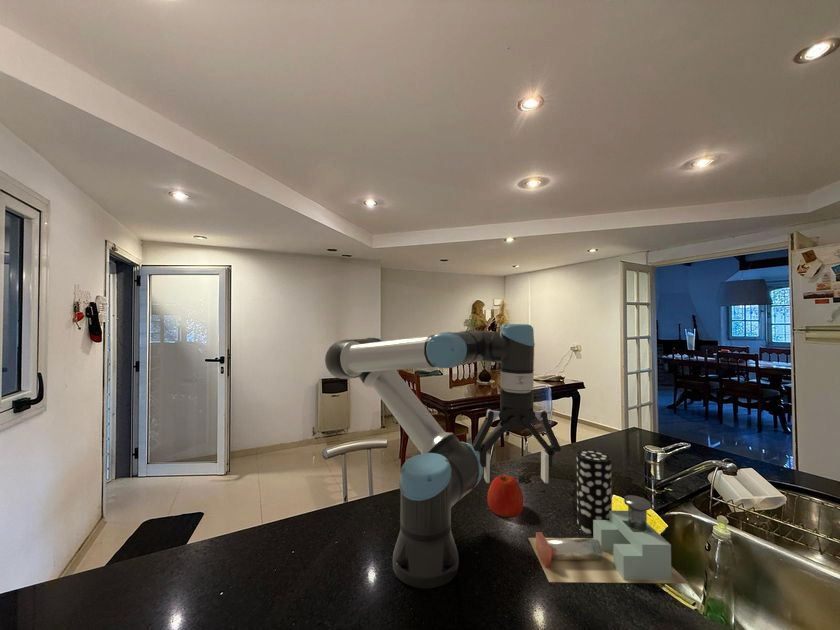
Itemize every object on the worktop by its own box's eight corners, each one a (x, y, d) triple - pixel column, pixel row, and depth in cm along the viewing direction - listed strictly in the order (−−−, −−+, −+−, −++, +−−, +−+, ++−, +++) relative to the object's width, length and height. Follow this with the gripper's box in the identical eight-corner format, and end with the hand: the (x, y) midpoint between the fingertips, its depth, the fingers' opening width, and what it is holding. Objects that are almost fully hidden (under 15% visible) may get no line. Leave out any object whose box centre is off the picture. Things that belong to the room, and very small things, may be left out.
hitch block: (623, 579, 74) (623, 544, 75) (593, 540, 88) (593, 510, 88) (671, 580, 74) (670, 544, 74) (633, 540, 88) (633, 510, 88)
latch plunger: (632, 532, 79) (632, 506, 79) (619, 519, 84) (619, 495, 84) (656, 533, 78) (655, 506, 79) (641, 519, 84) (641, 495, 84)
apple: (508, 500, 109) (508, 466, 109) (531, 517, 100) (531, 480, 100) (480, 507, 105) (480, 472, 105) (501, 526, 96) (501, 487, 96)
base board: (549, 586, 74) (549, 581, 74) (528, 541, 89) (528, 537, 89) (688, 587, 73) (688, 583, 73) (643, 542, 88) (643, 538, 88)
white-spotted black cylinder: (616, 542, 88) (616, 462, 89) (581, 538, 90) (580, 460, 90) (606, 523, 97) (605, 450, 97) (574, 520, 98) (573, 448, 99)
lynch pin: (545, 567, 78) (544, 549, 78) (536, 548, 85) (535, 532, 85) (605, 568, 78) (605, 549, 78) (592, 549, 84) (591, 532, 84)
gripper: (466, 392, 78) (464, 487, 78) (576, 393, 79) (575, 488, 79) (461, 386, 86) (460, 472, 86) (562, 387, 86) (561, 473, 86)
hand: (515, 480), depth 82 cm, fingers open, 13 cm apart
